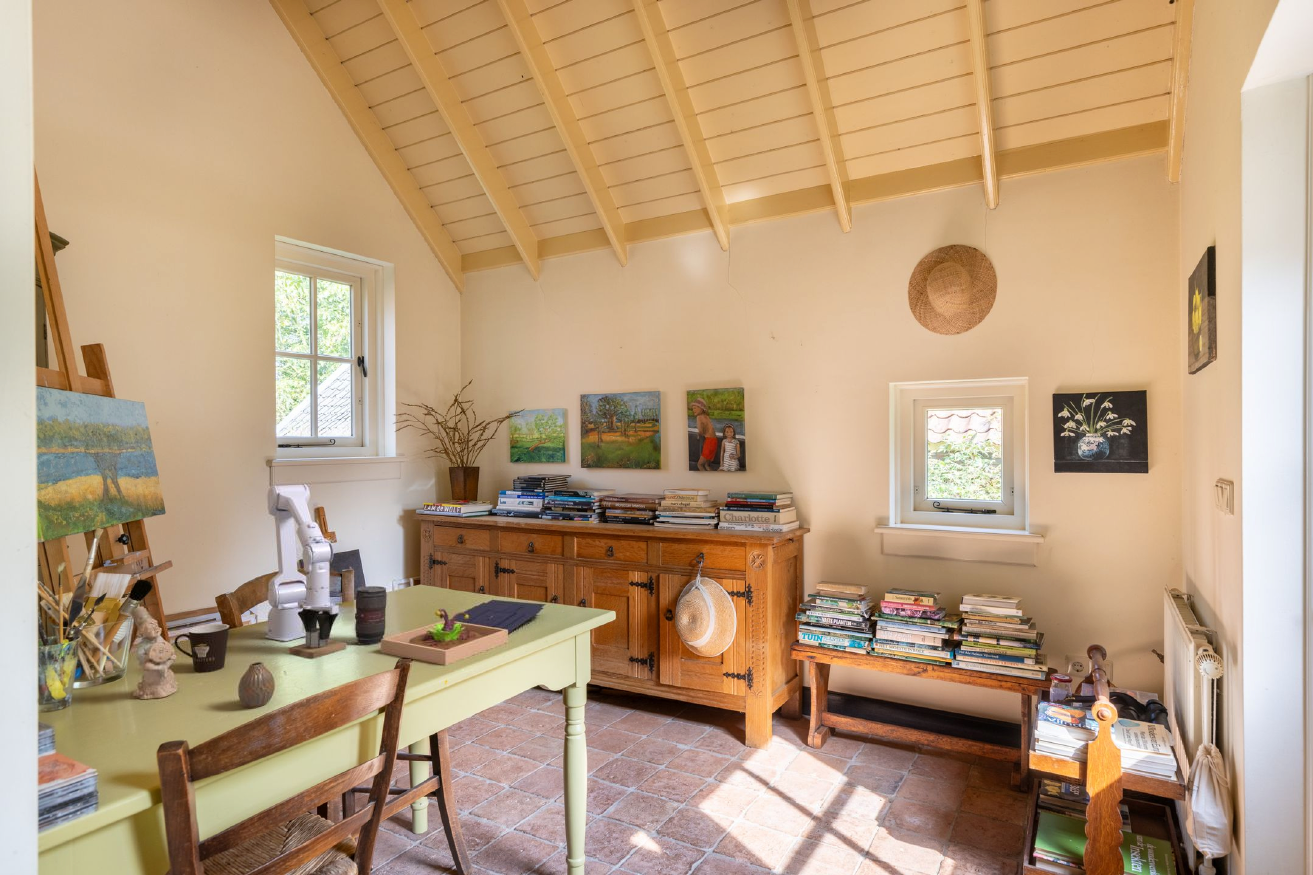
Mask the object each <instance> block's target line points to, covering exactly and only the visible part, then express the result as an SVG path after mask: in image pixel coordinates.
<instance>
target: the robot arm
mask: <svg viewBox="0 0 1313 875" xmlns="http://www.w3.org/2000/svg"><path fill="white" fill-rule="evenodd" d="M310 497H311V493H310V488H309V486H308V485H307V484H305V483H303V484H287V485H285V484H284V485H271V486H270V487H269V488H268V490H267V495H266V498H267V510H268V514H269V515H270V516H272V517H273V518H274V523H275V536H276V537H275V538H276V553H277V554H276V555H277V562H278V563H277V564H278V566H277V567H278V568H277V569H278V573H277V574H276V575H275V576H273V577H272V578H271V579H270V580H269V582H268V590H267V600H268V601H267V602H268V604H269V606H271V608H270V609H269V611H268V613H267V614H268V615H267V635H264V638H265V639H270V640H275V641H279V642H289V641H292V640H296V639H300V638H304V637H306V630H308V629H311V628H319V631H320V638H321V640H325V639H328V640H329V639H330V636H331V632H332V629H333V625H334V623H335V620H336V619H337V617H338V616H339V614H340V613H339V607H340V605H338V604H337V605H336V604H335V603H332V602H331V601H330V563H332V562H333V559H334V547H333V544H332V542H331V541H329V540H328V539H327V538H324V535H323V533H322V532H321V531H322V530H321V529H320V526H319V525H318V523H317V522H315V521H312V516H311V514H310V510H309V508H308V505H309V502H310ZM295 523H296V525H297V526H298V527H297V529H296V533H295ZM296 535H297V537H298V540H299V543H300V545H301V547H302V553H301V554H302V555H301V556H302V561H303V570H304V572H305V574H303V573H301V572H299V571H298V563H297V562H298V561H297V560H298V559H297V558H298V557H297V549H296V544H297V543H296ZM289 582H290V583H289ZM283 583H284V584H283ZM317 624H318V625H317ZM304 630H305V632H303V631H304Z"/></svg>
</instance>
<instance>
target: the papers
mask: <svg viewBox="0 0 1313 875" xmlns="http://www.w3.org/2000/svg"><path fill="white" fill-rule="evenodd" d="M544 606H546V604H545V603H533V602H521V601H510V600H500V599H499V600H498V599H491V600H489V601H487V602H482V603H480V604H478V605H474V606H473V607H471V608H469V609H467V610H465V611H463V612H462V613H466V614H467V615H468V619H465V618H464V615H463V614H461V615H458V616H457V618H456V619H455V622H461V623H468V624H474V625H481V626H487V627H493V628H500V629H506V630H508V634H510V633H511V632H513V630H515V629H516V628H518V627H519V626H521V625H523V624H524V623H525V622H527V621H528V620H530V619H531V618H533V617H534V616H536V615H537V614H539V613H540V612H541V611H542V610H543V609H545V607H544ZM451 619H452V618H449V621H450V620H451Z"/></svg>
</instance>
